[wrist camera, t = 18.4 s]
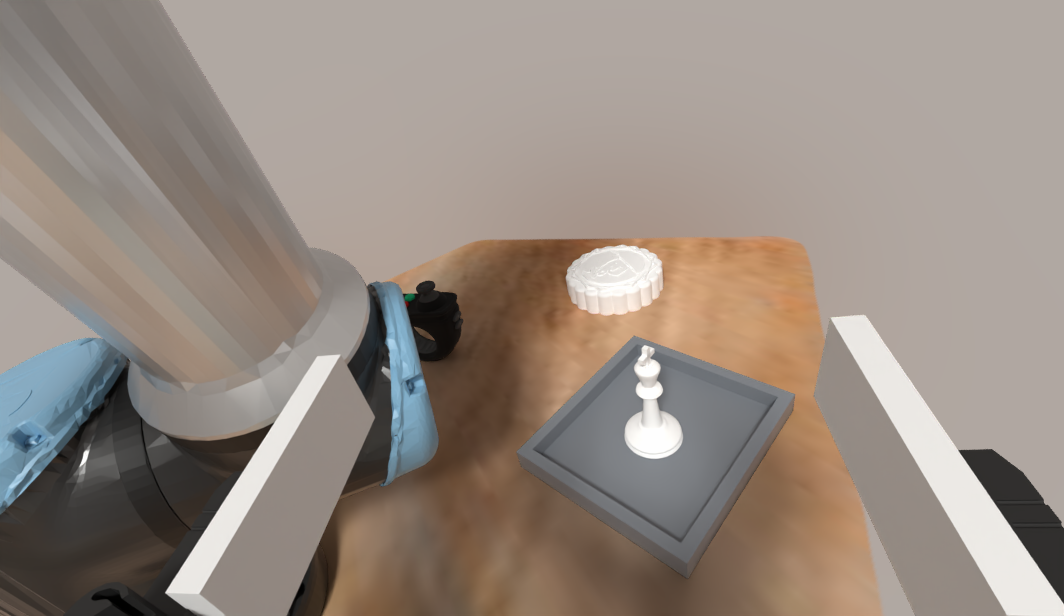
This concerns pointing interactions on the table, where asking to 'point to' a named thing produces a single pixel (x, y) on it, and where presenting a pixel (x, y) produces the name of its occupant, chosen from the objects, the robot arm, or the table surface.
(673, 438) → the chess piece
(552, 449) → the tray
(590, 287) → the mooncake
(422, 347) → the controller
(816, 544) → the table surface
